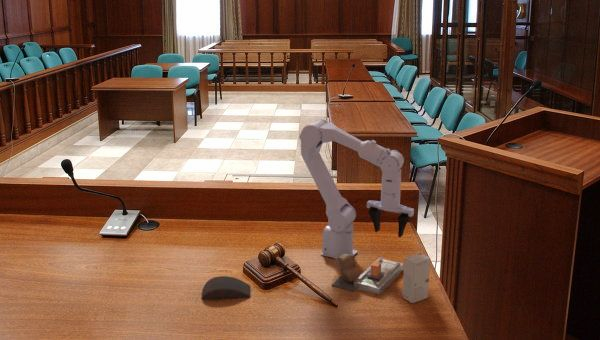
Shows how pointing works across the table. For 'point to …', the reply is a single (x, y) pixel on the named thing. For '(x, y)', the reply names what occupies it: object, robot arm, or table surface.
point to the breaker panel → (377, 285)
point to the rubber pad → (344, 284)
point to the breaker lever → (376, 270)
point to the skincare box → (416, 277)
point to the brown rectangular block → (347, 267)
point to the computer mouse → (225, 288)
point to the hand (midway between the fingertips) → (388, 233)
